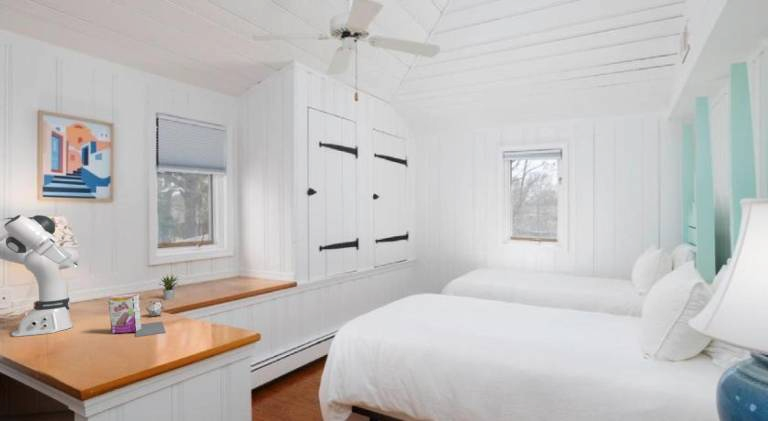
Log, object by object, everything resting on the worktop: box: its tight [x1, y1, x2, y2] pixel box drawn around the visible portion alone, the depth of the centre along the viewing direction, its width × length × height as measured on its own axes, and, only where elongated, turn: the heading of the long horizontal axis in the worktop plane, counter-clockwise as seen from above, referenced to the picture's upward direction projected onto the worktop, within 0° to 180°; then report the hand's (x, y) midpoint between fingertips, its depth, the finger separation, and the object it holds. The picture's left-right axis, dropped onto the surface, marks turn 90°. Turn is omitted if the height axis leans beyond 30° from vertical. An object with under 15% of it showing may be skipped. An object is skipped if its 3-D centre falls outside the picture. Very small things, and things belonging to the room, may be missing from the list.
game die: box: [145, 300, 166, 318], centre depth 227 cm, size 9×8×10 cm
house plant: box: [158, 274, 181, 301], centre depth 276 cm, size 14×14×16 cm
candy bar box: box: [108, 293, 142, 335], centre depth 195 cm, size 11×5×16 cm, turn 92°
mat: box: [135, 321, 166, 338], centre depth 200 cm, size 12×24×1 cm, turn 30°
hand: (75, 266), depth 186 cm, fingers open, 5 cm apart
